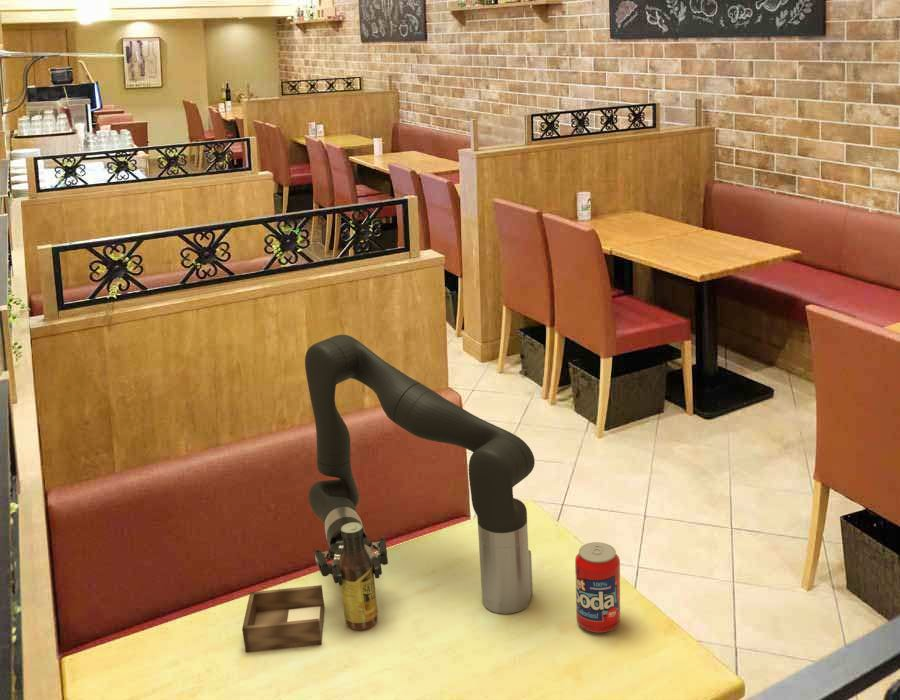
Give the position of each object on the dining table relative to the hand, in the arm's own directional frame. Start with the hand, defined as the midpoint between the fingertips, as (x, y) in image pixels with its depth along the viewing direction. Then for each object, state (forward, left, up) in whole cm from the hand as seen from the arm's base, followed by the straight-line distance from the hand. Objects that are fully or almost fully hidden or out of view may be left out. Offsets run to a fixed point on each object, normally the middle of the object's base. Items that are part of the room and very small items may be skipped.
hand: (359, 577), depth 167 cm
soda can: (-26, +34, -11) cm, 45 cm away
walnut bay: (+9, -12, -11) cm, 18 cm away
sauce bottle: (-1, -2, -11) cm, 11 cm away
